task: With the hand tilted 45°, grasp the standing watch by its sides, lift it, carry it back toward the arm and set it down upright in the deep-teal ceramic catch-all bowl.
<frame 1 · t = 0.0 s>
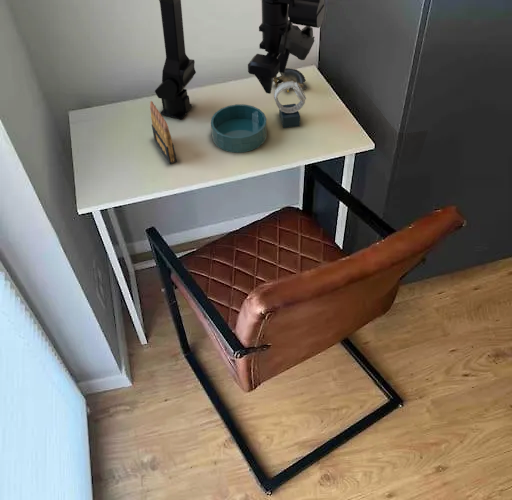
hand: (275, 82, 136), 15 cm above the table, tool pointing down, fingers open, 9 cm apart
watch: (289, 121, 150), on the table
ammunition clip: (165, 151, 144), on the table
bowl: (239, 135, 147), on the table
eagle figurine: (289, 88, 160), on the table
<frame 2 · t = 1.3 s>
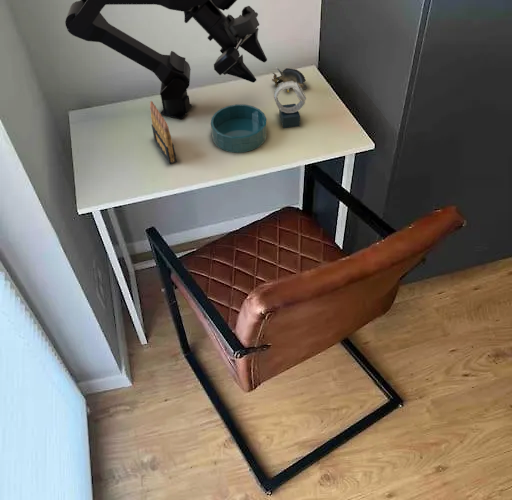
hand: (260, 71, 142), 13 cm above the table, tool tilted 45°, fingers open, 9 cm apart
nothing on the table moved.
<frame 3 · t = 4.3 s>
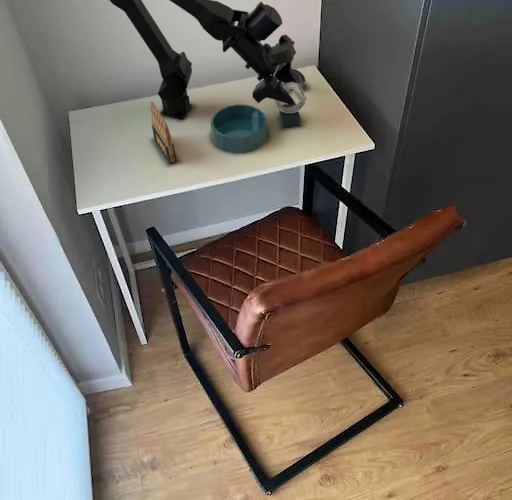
hand: (296, 96, 145), 7 cm above the table, tool tilted 45°, fingers closed on watch, 6 cm apart
watch: (289, 120, 150), on the table, touching gripper
everything else where it was.
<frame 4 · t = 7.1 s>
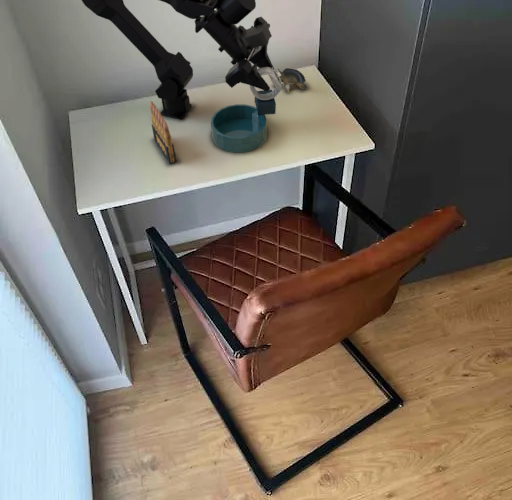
hand: (272, 82, 139), 13 cm above the table, tool tilted 45°, fingers closed on watch, 6 cm apart
watch: (265, 107, 145), point 6 cm above the table, touching gripper
everything else where it was.
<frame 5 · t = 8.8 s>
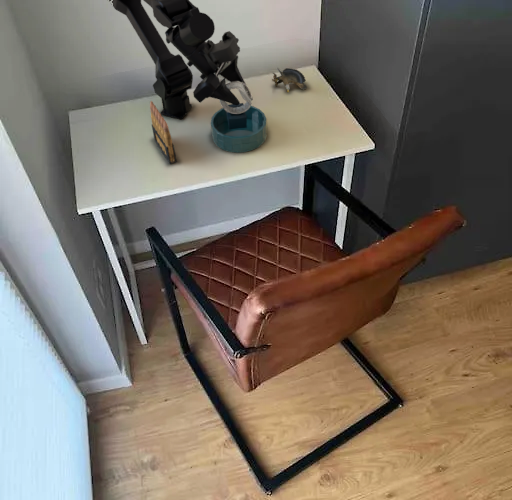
hand: (242, 96, 138), 12 cm above the table, tool tilted 45°, fingers closed on watch, 6 cm apart
watch: (236, 121, 144), point 4 cm above the table, touching gripper
everything else where it was.
when the fingers open (8 cm above the table, at t = 10.3 s): watch stays where it is, resting on bowl.
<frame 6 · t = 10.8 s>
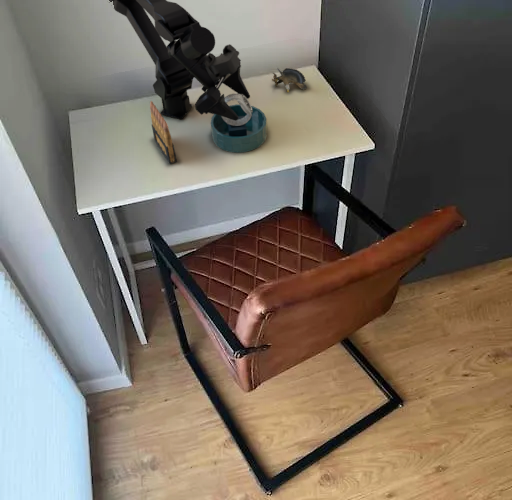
hand: (243, 108, 140), 8 cm above the table, tool tilted 45°, fingers open, 9 cm apart
watch: (237, 133, 147), resting on bowl
everything else where it was.
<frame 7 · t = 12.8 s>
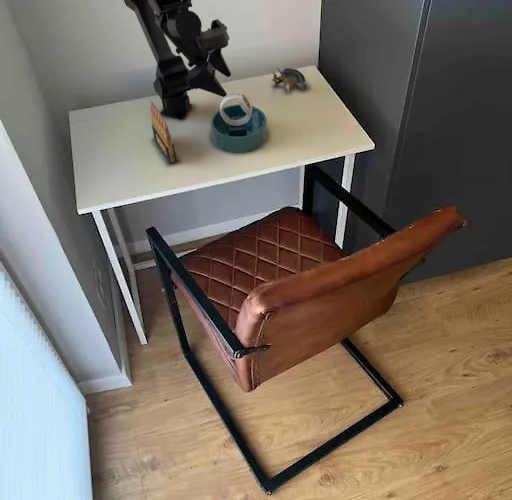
hand: (227, 85, 139), 13 cm above the table, tool tilted 35°, fingers open, 9 cm apart
nothing on the table moved.
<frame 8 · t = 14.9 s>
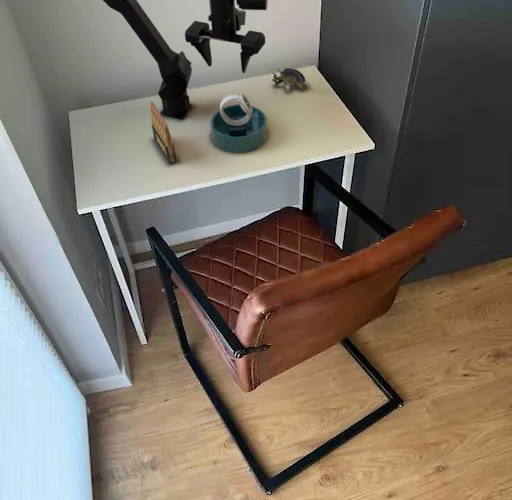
hand: (227, 69, 144), 13 cm above the table, tool pointing down, fingers open, 9 cm apart
nothing on the table moved.
at the end: watch 0.4 cm off-centre in the bowl, point 0.4 cm above the bowl's base; watch tilted 0°; the gripper is holding nothing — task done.
